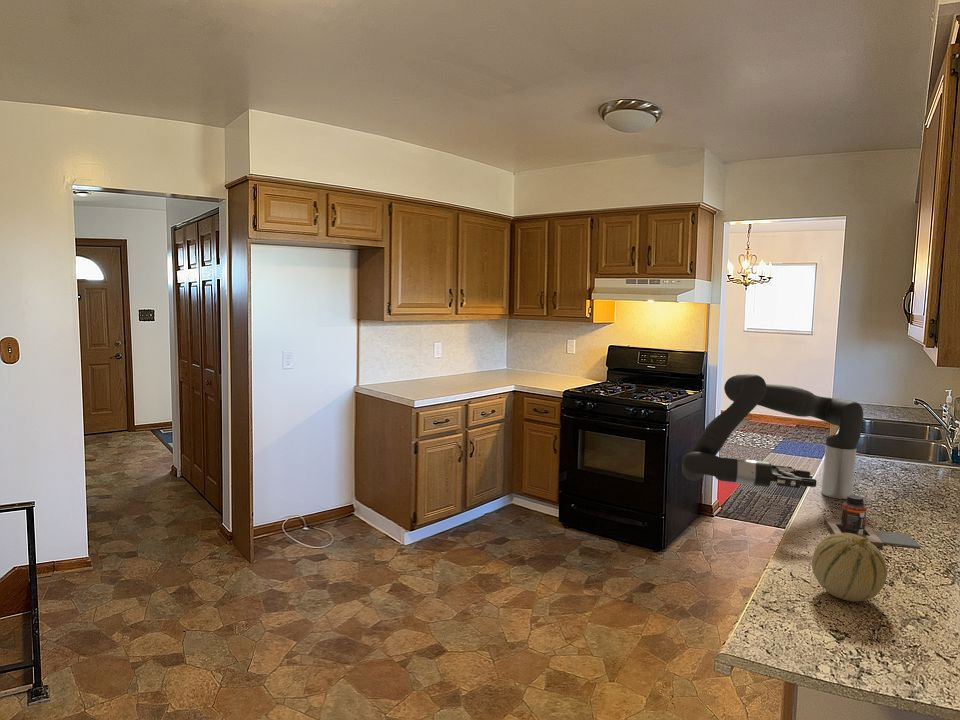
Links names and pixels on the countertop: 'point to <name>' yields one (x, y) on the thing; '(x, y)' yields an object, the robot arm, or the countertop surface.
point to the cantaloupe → (849, 567)
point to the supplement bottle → (853, 515)
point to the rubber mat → (896, 539)
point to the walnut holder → (869, 534)
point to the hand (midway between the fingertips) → (812, 479)
